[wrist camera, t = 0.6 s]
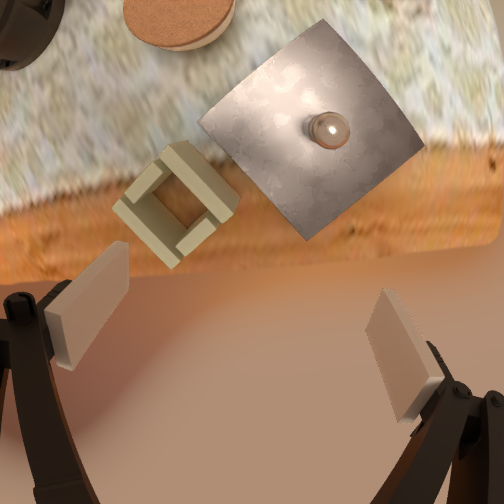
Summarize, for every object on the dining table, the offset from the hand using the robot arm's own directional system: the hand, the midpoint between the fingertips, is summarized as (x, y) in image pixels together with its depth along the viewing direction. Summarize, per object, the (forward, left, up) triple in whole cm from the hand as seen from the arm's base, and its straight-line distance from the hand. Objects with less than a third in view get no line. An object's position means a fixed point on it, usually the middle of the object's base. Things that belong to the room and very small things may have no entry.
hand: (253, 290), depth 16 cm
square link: (-6, -7, -22) cm, 24 cm away
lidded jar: (-21, +8, -23) cm, 32 cm away
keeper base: (-2, +9, -22) cm, 24 cm away
